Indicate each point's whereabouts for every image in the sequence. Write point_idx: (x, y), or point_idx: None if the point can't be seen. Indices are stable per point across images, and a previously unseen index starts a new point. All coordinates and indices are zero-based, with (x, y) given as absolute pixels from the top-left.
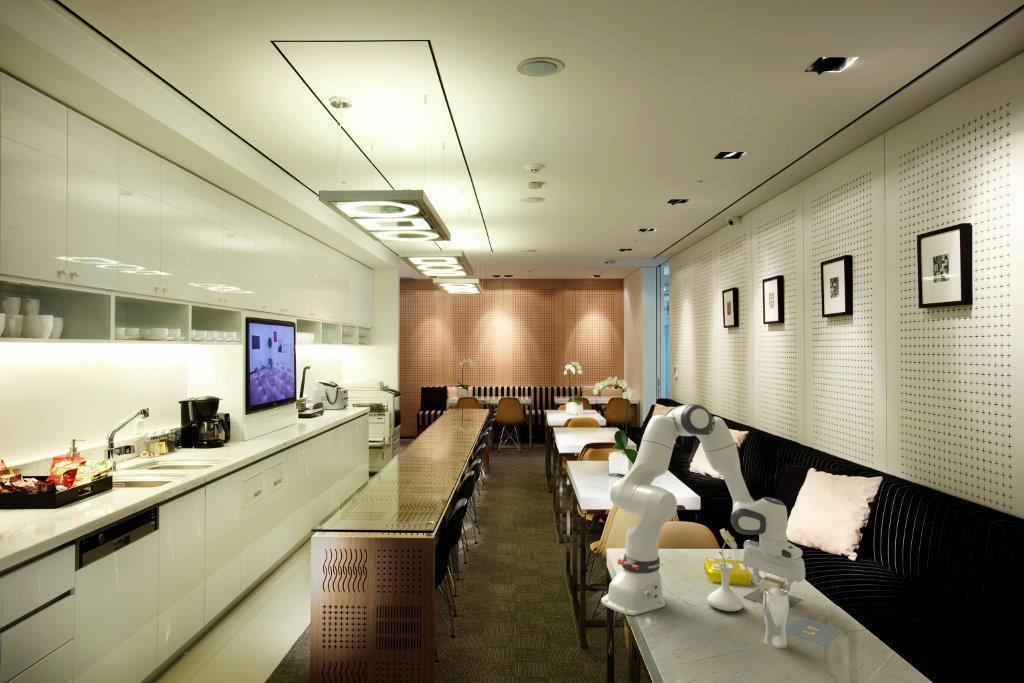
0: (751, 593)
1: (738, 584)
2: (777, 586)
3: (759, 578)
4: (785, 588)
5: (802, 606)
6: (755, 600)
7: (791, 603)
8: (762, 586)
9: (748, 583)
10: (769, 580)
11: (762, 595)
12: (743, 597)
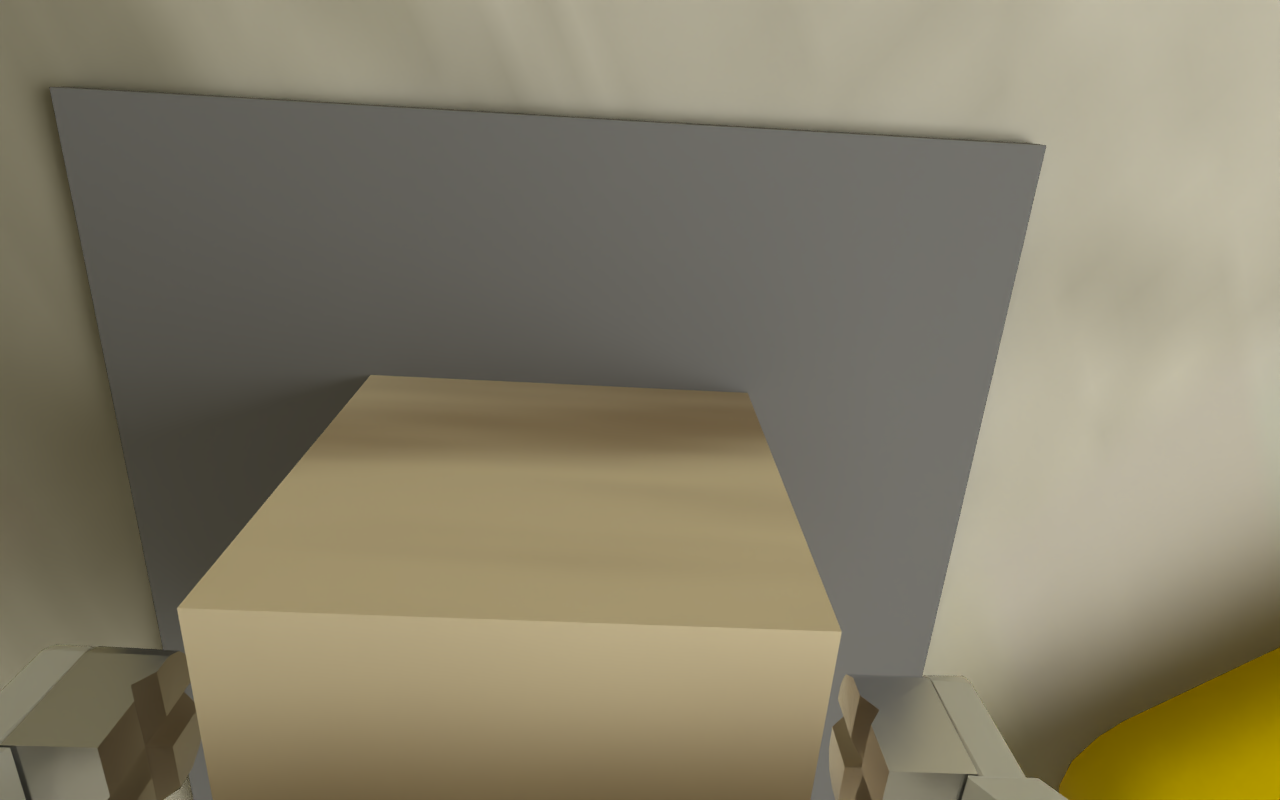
0: (944, 451)
1: (1249, 670)
2: (200, 582)
3: (907, 761)
4: (79, 693)
5: (48, 603)
6: (763, 154)
7: (200, 557)
8: (723, 517)
9: (1101, 781)
10: (581, 790)
11: (697, 411)
12: (1037, 145)
